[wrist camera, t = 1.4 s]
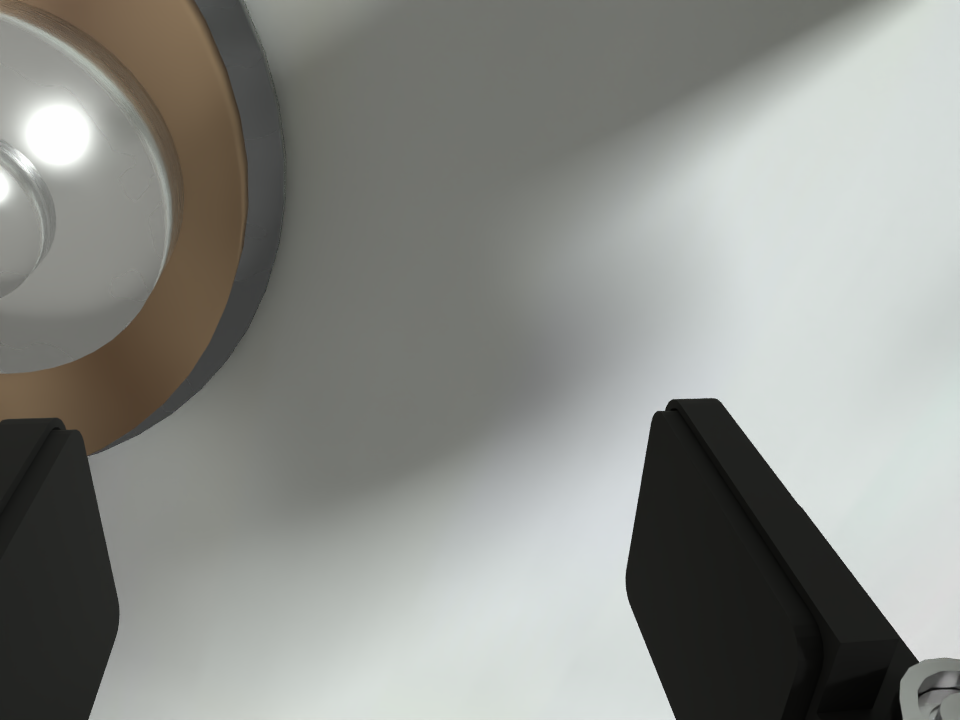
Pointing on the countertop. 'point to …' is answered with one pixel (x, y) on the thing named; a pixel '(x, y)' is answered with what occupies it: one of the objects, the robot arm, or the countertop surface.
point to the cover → (76, 192)
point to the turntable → (202, 239)
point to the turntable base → (265, 193)
